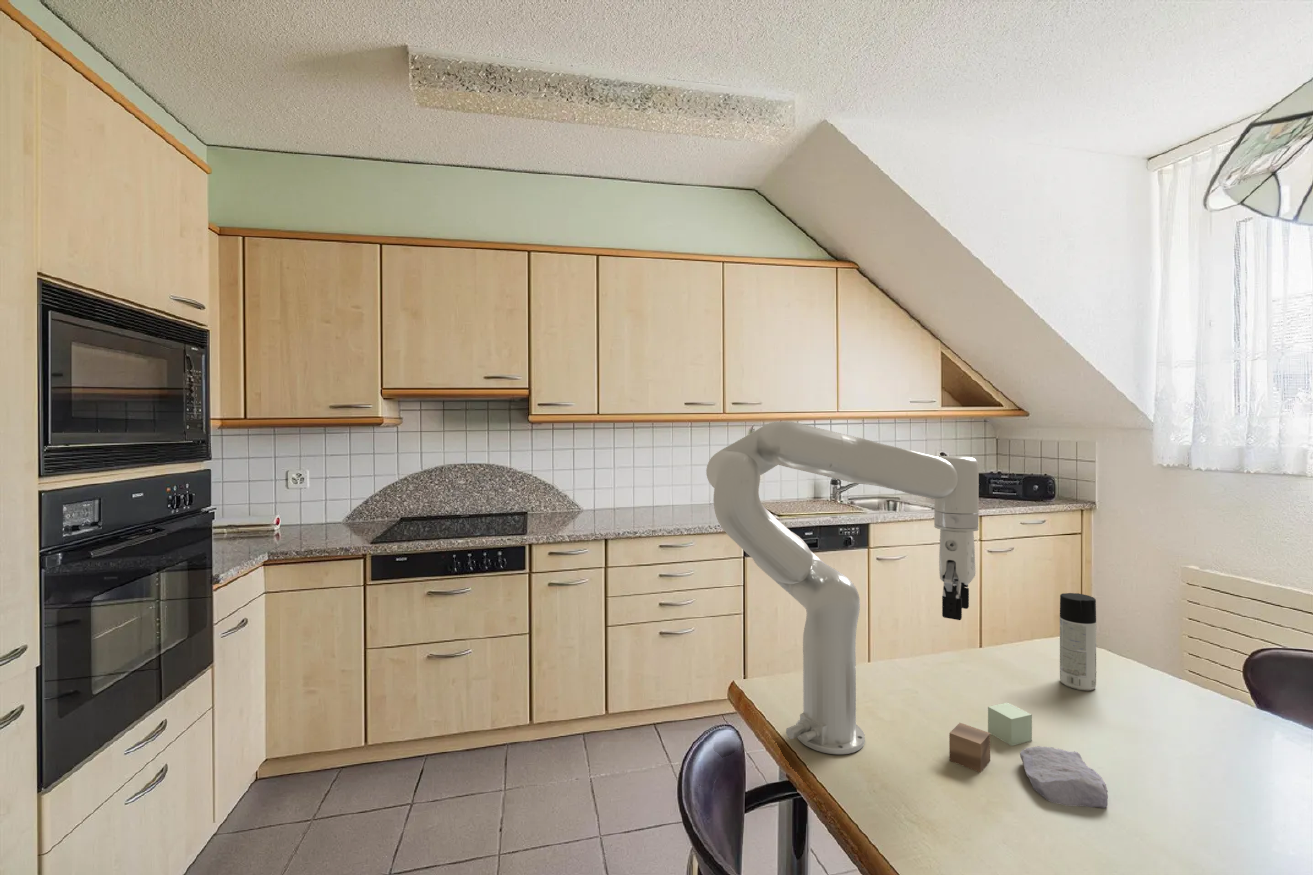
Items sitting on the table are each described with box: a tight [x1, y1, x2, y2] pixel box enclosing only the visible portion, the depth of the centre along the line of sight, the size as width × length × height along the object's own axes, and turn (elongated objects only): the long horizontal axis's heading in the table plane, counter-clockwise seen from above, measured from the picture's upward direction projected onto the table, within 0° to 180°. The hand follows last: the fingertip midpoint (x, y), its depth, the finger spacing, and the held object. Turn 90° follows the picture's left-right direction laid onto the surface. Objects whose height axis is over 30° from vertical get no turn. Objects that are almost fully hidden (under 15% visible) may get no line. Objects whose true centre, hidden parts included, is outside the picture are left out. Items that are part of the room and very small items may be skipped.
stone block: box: [1019, 745, 1109, 809], centre depth 95 cm, size 12×5×10 cm
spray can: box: [1059, 592, 1097, 692], centre depth 130 cm, size 7×7×20 cm
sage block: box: [987, 702, 1033, 747], centre depth 109 cm, size 5×5×5 cm
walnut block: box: [948, 722, 991, 773], centre depth 101 cm, size 5×5×5 cm
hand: (955, 612), depth 111 cm, fingers open, 7 cm apart
